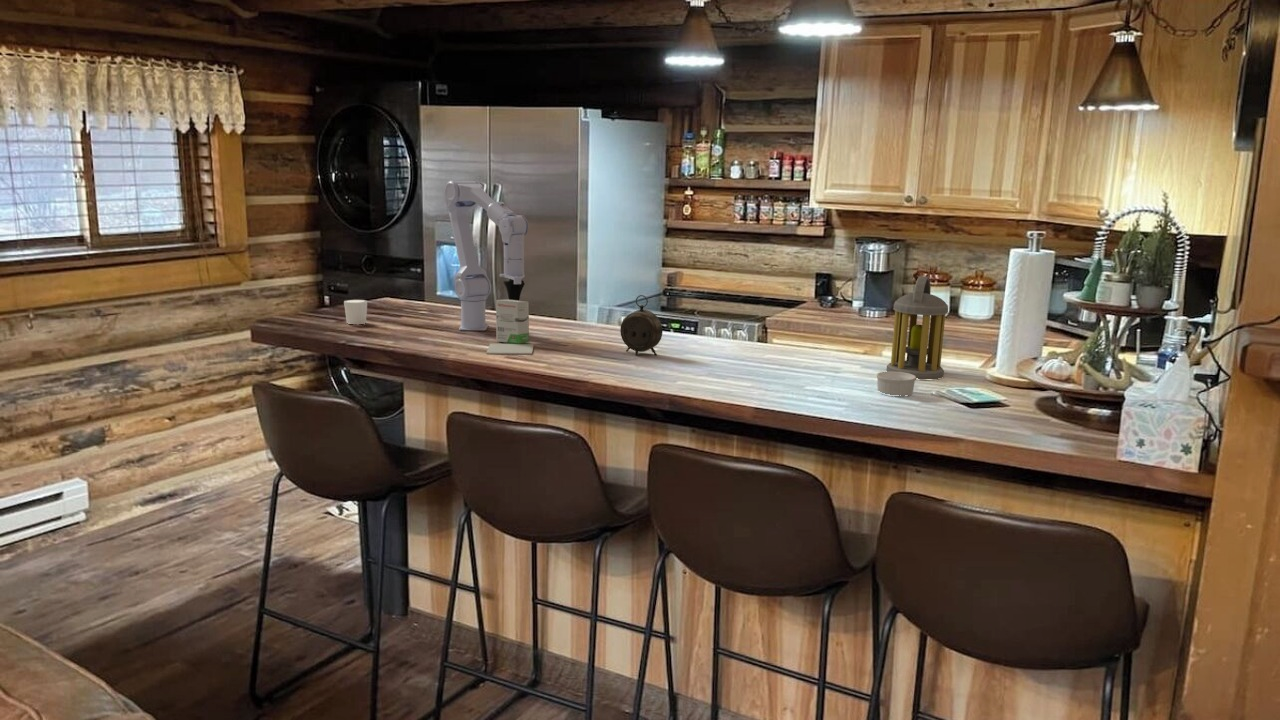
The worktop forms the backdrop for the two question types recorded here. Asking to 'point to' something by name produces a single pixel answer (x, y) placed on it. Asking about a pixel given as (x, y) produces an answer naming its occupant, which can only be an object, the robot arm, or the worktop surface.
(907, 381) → the ramekin
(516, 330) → the ink box
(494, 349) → the mat
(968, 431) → the worktop surface
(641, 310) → the alarm clock
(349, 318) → the white cup
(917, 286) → the lantern
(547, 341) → the worktop surface
